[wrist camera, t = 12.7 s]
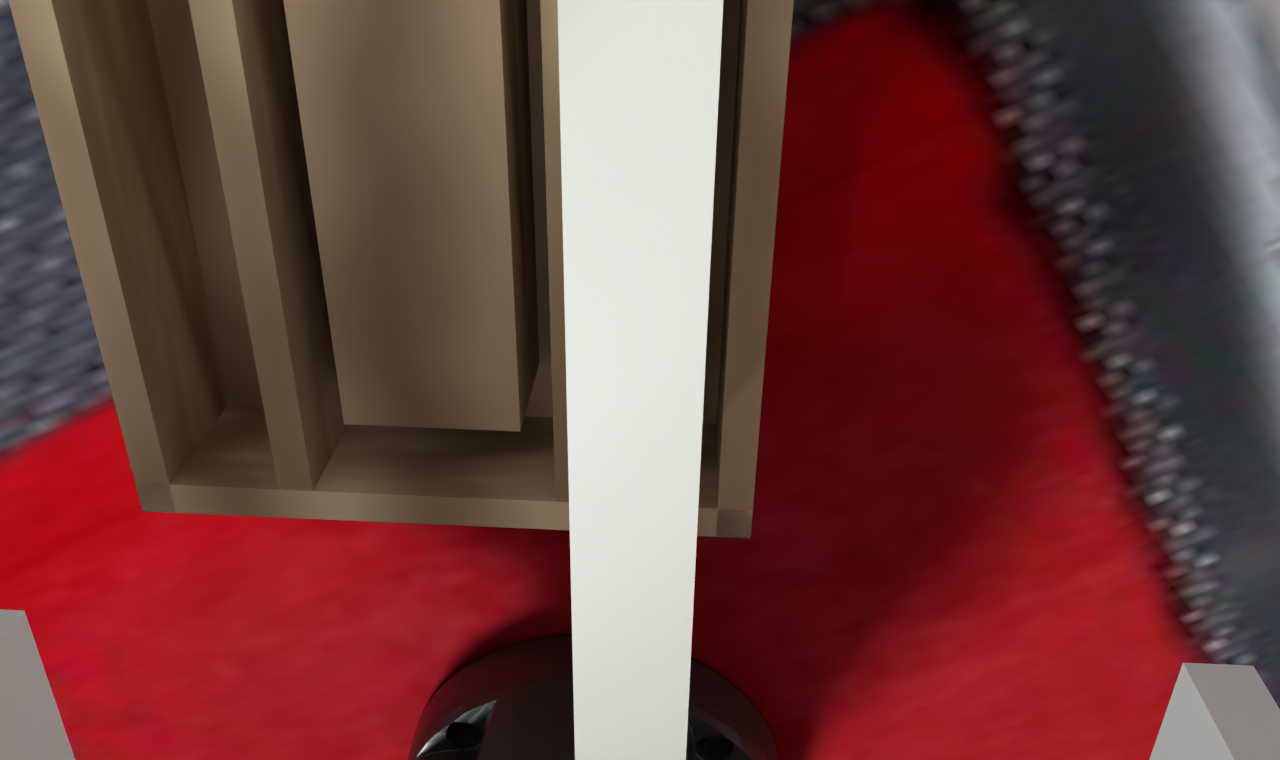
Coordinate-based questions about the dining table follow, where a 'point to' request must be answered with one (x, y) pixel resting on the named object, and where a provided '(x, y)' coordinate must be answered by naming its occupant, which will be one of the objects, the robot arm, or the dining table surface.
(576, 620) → the tall sheet
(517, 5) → the lower offcut
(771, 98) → the rack
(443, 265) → the upper offcut
